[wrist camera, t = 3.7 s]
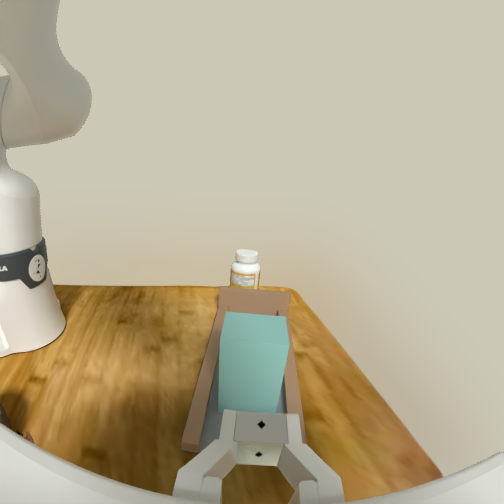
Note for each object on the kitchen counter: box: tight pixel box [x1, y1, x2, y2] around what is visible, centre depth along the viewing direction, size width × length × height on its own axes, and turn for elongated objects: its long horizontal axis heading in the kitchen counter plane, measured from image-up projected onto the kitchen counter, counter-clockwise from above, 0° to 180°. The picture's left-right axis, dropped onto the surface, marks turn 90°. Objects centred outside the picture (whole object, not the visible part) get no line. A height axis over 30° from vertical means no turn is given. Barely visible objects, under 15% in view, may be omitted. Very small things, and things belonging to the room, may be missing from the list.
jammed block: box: [218, 311, 289, 413], centre depth 28 cm, size 6×5×10 cm
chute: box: [180, 286, 307, 453], centre depth 35 cm, size 12×30×4 cm, turn 178°
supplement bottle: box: [230, 249, 260, 289], centre depth 53 cm, size 5×5×10 cm
